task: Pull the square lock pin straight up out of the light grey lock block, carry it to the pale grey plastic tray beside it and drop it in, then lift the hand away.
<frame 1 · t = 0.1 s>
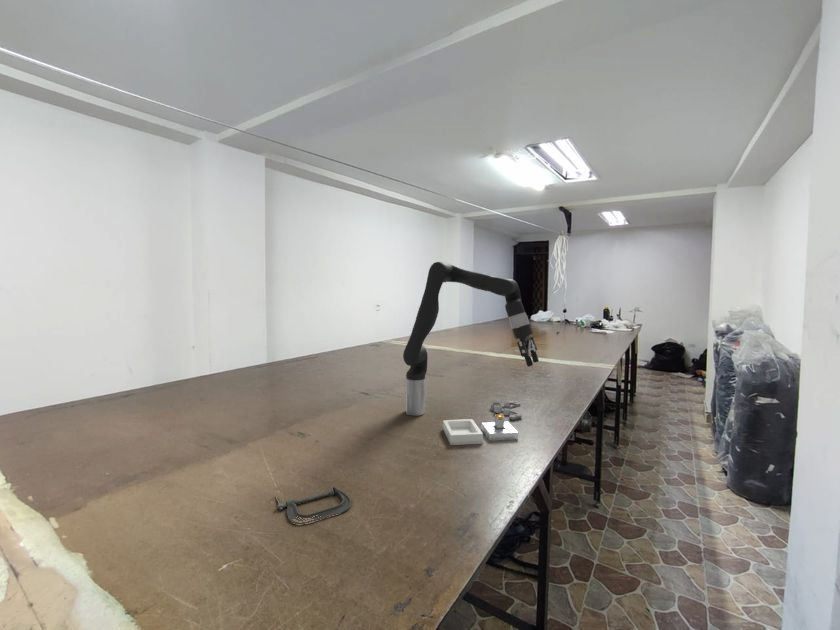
hand: (533, 363, 151), 31 cm above the table, tool tilted 20°, fingers open, 8 cm apart
lock block: (499, 434, 159), on the table
pulley system: (505, 411, 188), on the table
c clamp: (313, 507, 109), on the table
parts tray: (462, 436, 157), on the table
lock pin: (499, 425, 159), in the lock block
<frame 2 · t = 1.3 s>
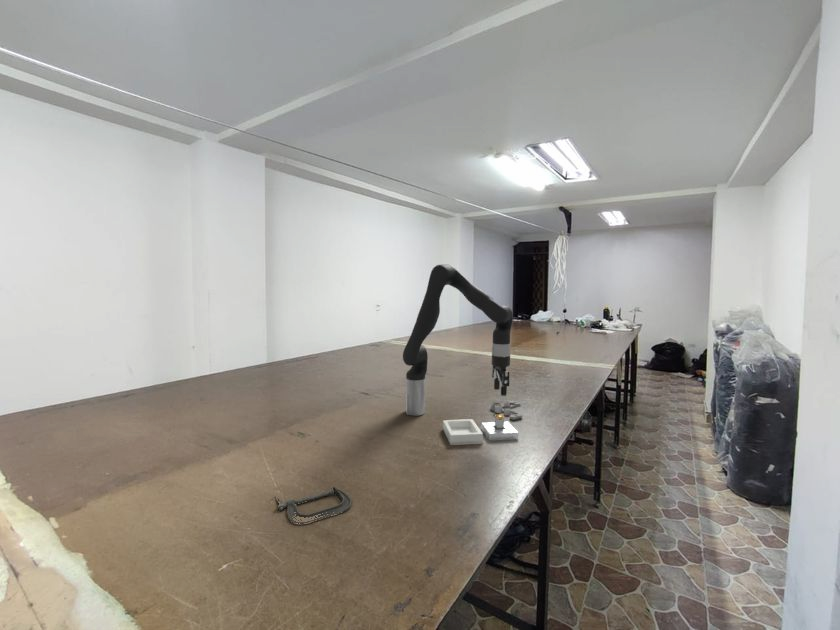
hand: (500, 392, 158), 18 cm above the table, tool pointing down, fingers open, 8 cm apart
nothing on the table moved.
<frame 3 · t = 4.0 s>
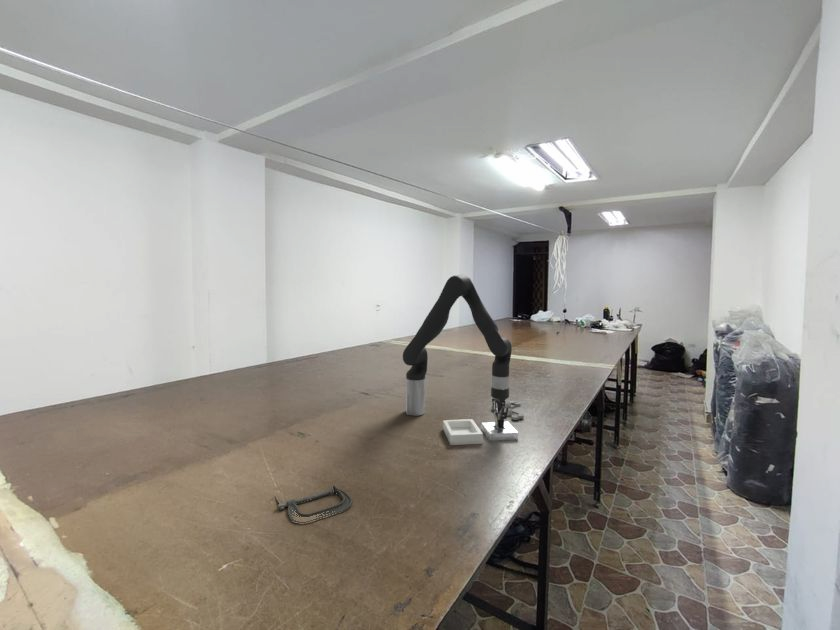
hand: (499, 425, 159), 4 cm above the table, tool pointing down, fingers closed on lock pin, 3 cm apart
lock pin: (499, 425, 159), in the lock block, touching gripper
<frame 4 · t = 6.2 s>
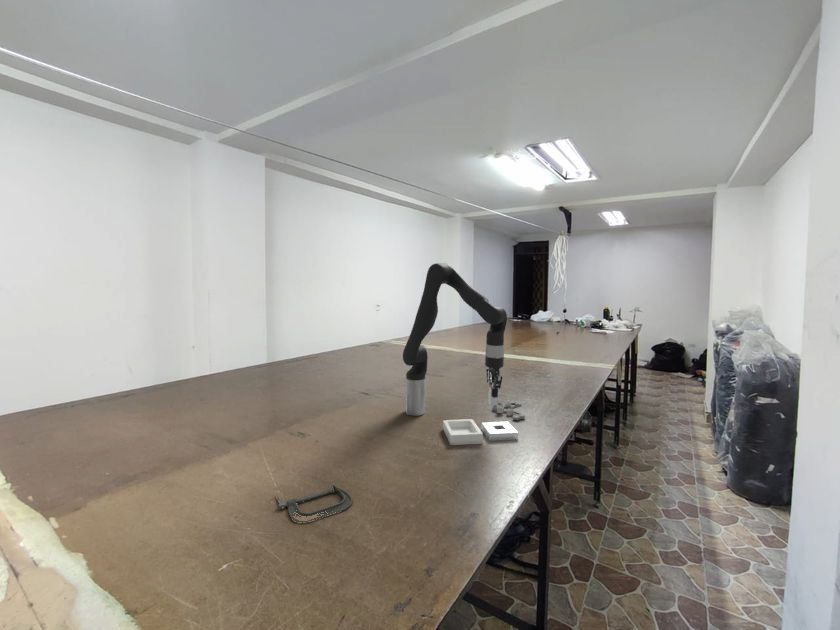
hand: (493, 395, 158), 17 cm above the table, tool pointing down, fingers closed on lock pin, 3 cm apart
lock pin: (493, 394, 158), point 17 cm above the table, touching gripper
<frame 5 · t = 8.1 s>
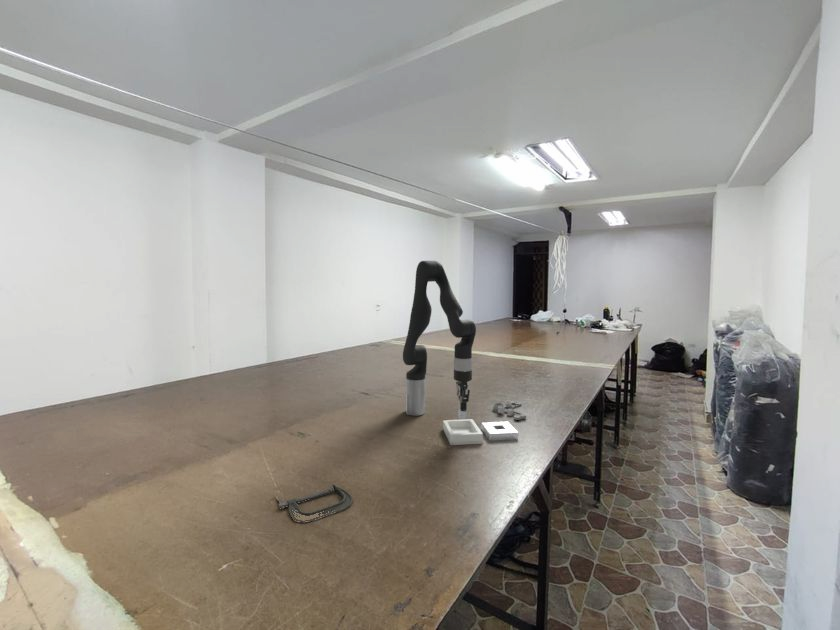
hand: (462, 409, 156), 12 cm above the table, tool pointing down, fingers closed on lock pin, 3 cm apart
lock pin: (462, 408, 156), point 12 cm above the table, touching gripper
when the fingers open (7 cm above the table, at t = 9.7 s): lock pin drops 2 cm, resting on parts tray.
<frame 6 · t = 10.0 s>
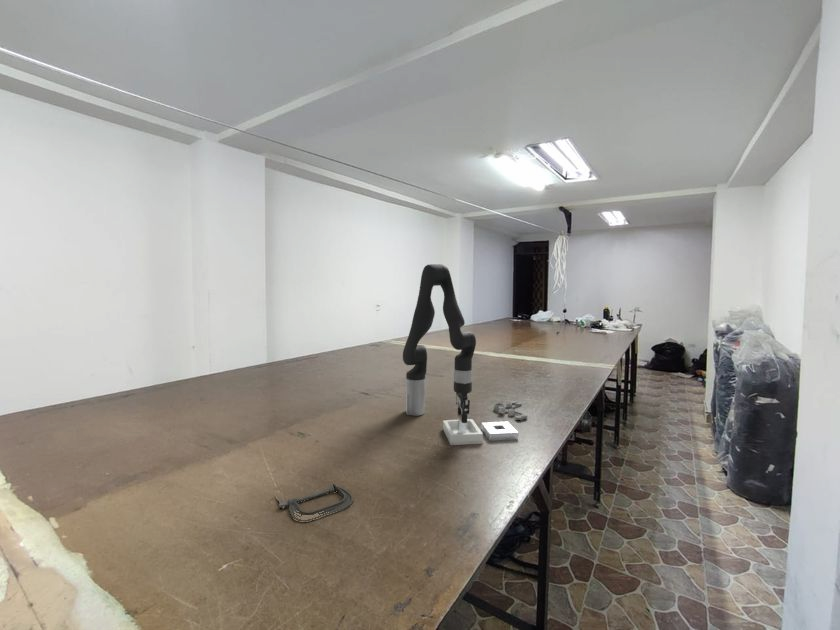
hand: (462, 419, 156), 7 cm above the table, tool pointing down, fingers open, 6 cm apart
lock pin: (462, 424, 157), in the parts tray, point 5 cm above the table
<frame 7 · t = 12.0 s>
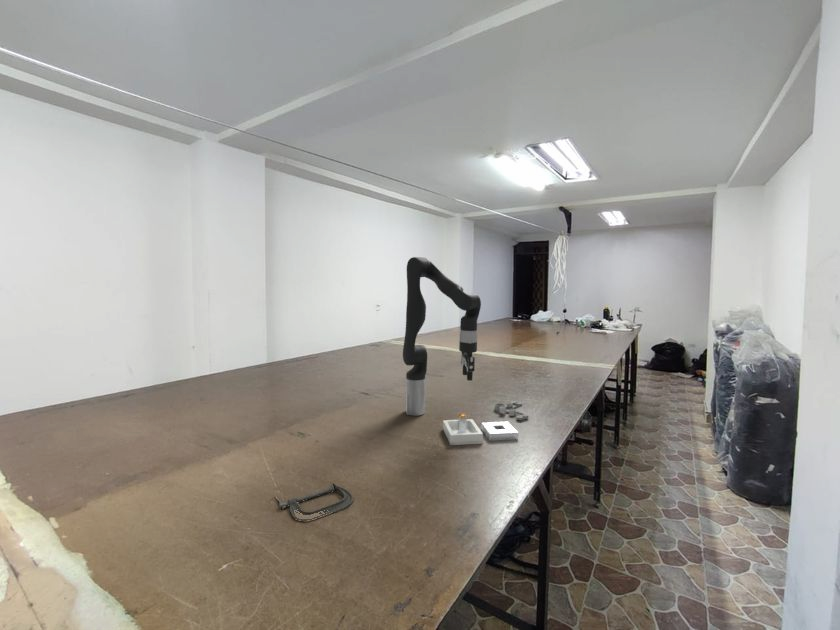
hand: (467, 377, 163), 23 cm above the table, tool pointing down, fingers open, 8 cm apart
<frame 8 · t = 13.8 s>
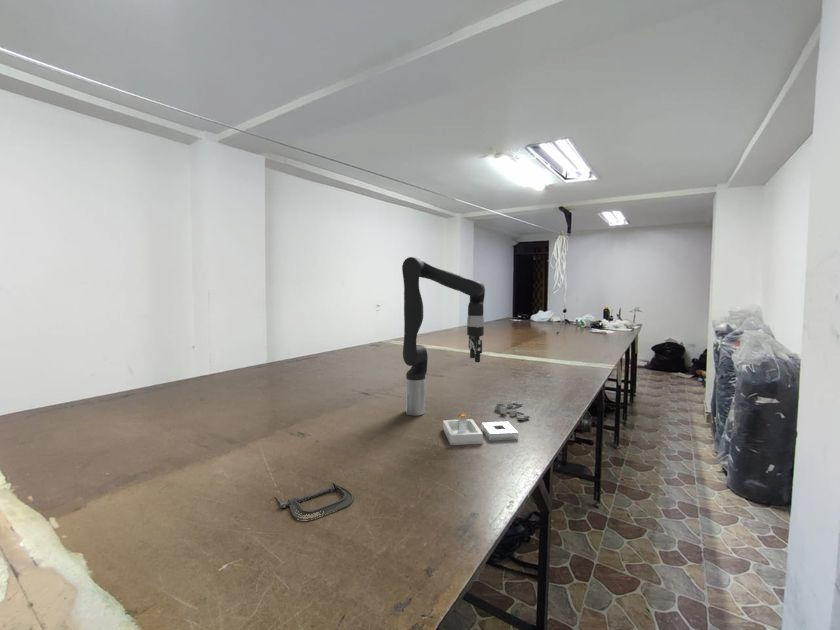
hand: (474, 360, 174), 28 cm above the table, tool pointing down, fingers open, 8 cm apart
at the end: lock pin inside the target area on the parts tray (0.2 cm from its centre), point 5.0 cm above the parts tray's base; lock pin touching parts tray; the gripper is holding nothing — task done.
